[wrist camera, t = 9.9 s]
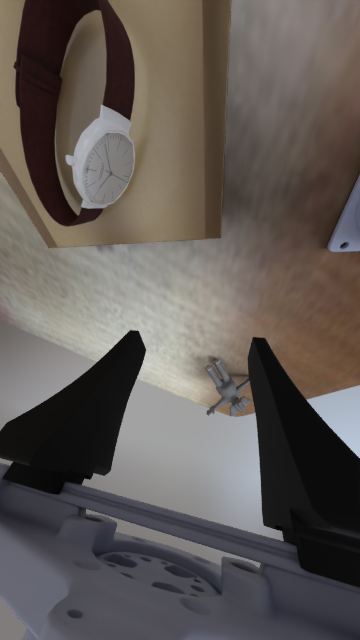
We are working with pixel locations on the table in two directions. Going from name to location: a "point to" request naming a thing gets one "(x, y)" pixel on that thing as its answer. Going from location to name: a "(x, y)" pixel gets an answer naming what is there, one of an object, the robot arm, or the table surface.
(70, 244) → the shelf
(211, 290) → the table surface
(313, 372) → the table surface
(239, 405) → the gray toy figurine
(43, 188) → the watch
